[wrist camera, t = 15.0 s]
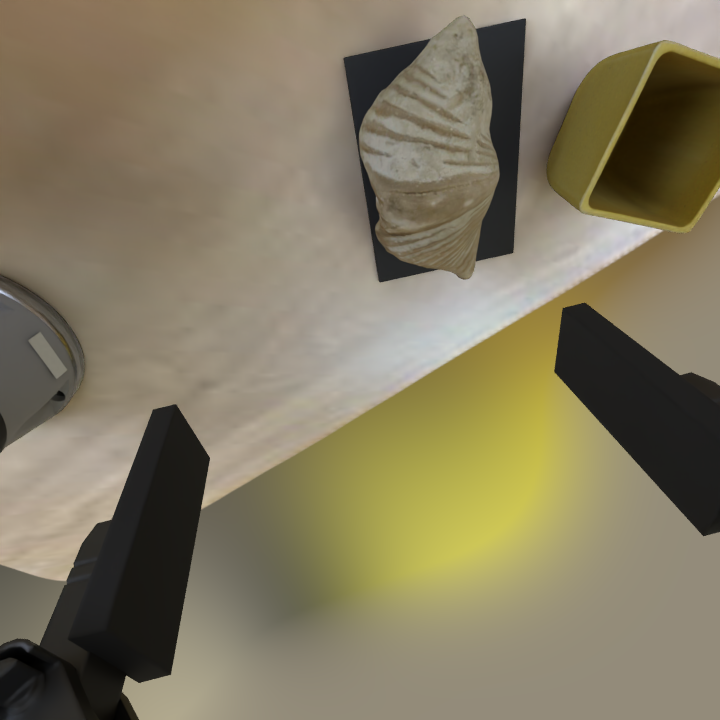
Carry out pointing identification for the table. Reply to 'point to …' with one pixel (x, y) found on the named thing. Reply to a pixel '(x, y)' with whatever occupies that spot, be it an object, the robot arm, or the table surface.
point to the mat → (505, 77)
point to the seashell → (433, 154)
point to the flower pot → (643, 138)
